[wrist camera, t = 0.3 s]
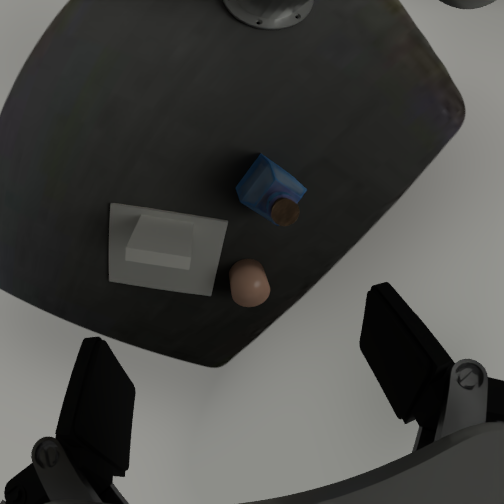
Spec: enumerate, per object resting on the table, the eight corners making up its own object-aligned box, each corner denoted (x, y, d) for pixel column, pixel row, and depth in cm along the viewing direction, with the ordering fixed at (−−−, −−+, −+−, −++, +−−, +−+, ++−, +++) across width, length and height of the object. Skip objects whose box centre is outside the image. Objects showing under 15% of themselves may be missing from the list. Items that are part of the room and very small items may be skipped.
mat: (111, 202, 40) (110, 204, 39) (227, 220, 44) (227, 222, 44) (109, 279, 46) (109, 281, 46) (210, 294, 50) (211, 296, 50)
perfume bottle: (268, 209, 44) (289, 247, 34) (235, 187, 42) (246, 220, 32) (293, 176, 42) (323, 205, 32) (260, 153, 40) (280, 174, 29)
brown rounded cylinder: (233, 256, 47) (236, 273, 43) (268, 261, 49) (274, 278, 45) (225, 286, 50) (228, 304, 46) (258, 290, 52) (264, 308, 47)
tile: (141, 214, 41) (125, 247, 32) (193, 222, 43) (191, 257, 34) (140, 226, 42) (125, 261, 33) (191, 234, 44) (188, 271, 35)
